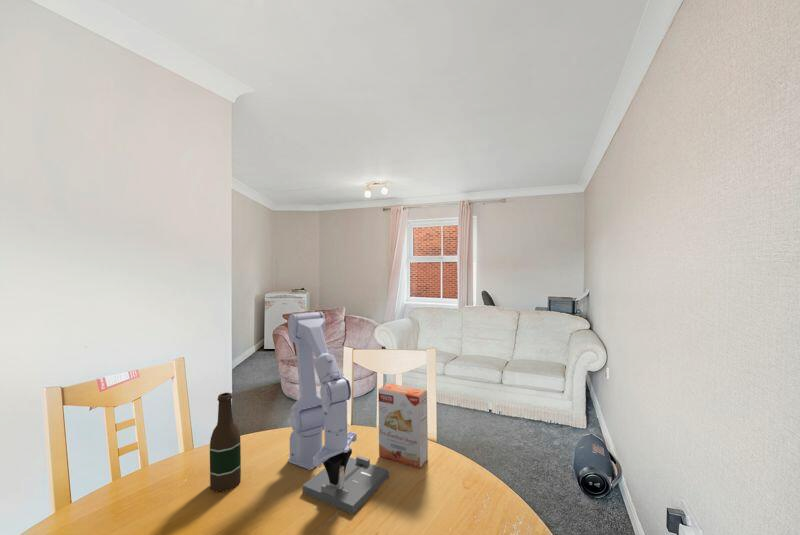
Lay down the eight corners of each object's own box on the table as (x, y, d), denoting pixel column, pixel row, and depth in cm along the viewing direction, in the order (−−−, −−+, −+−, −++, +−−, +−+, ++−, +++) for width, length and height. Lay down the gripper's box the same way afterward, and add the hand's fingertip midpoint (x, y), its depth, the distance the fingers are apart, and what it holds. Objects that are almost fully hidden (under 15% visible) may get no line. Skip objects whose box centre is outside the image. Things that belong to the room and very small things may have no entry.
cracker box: (378, 457, 103) (377, 388, 103) (388, 448, 108) (387, 382, 108) (419, 470, 96) (418, 396, 96) (428, 459, 102) (427, 389, 102)
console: (302, 493, 87) (302, 479, 87) (342, 461, 101) (342, 449, 101) (353, 514, 79) (352, 499, 79) (388, 477, 93) (388, 464, 93)
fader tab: (328, 485, 87) (328, 465, 87) (333, 481, 88) (332, 462, 88) (340, 489, 85) (339, 469, 85) (344, 486, 86) (344, 466, 86)
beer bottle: (246, 483, 92) (245, 393, 92) (215, 497, 86) (214, 402, 86) (235, 471, 97) (234, 387, 97) (205, 484, 91) (204, 394, 91)
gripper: (328, 444, 78) (329, 503, 78) (365, 419, 91) (366, 470, 91) (306, 436, 82) (306, 493, 82) (344, 414, 94) (345, 463, 94)
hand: (336, 480), depth 86 cm, fingers closed on fader tab, 2 cm apart
